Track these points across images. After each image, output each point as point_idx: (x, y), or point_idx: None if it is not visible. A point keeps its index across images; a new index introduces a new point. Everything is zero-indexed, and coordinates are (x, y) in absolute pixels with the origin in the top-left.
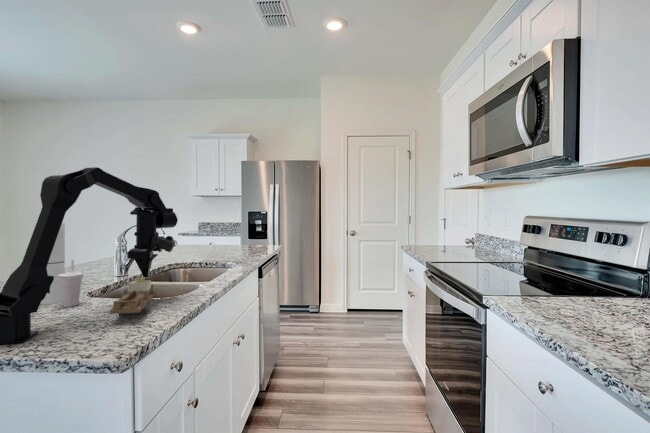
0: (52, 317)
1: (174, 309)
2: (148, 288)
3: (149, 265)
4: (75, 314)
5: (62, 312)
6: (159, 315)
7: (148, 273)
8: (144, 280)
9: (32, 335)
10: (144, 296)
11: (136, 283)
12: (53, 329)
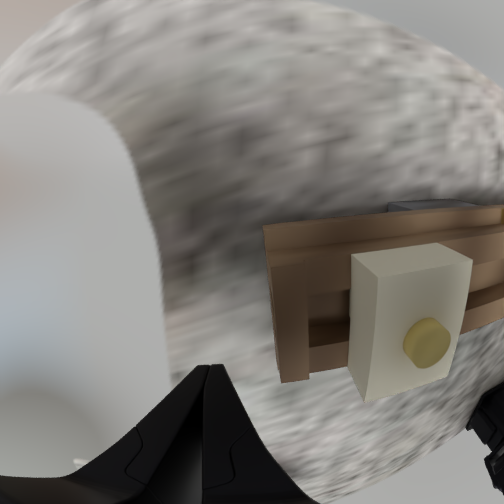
0: (381, 448)
1: (384, 89)
2: (429, 248)
3: (234, 447)
4: (372, 426)
5: (339, 456)
6: (456, 144)
7: (196, 380)
8: (379, 329)
9: (499, 387)
10: (485, 230)
11: (458, 335)
12: (473, 387)
